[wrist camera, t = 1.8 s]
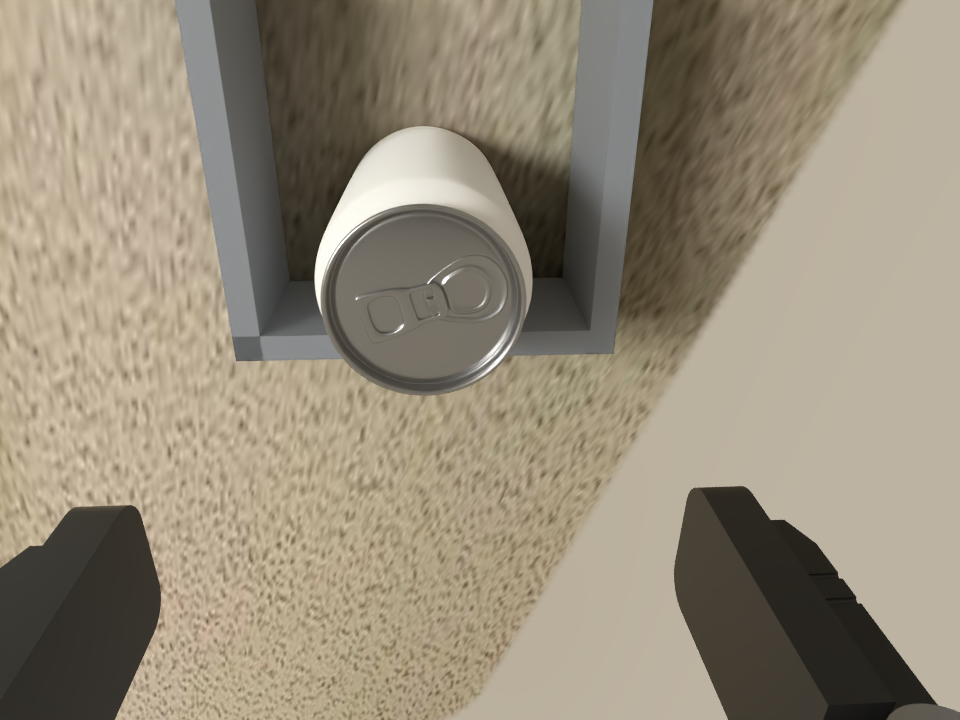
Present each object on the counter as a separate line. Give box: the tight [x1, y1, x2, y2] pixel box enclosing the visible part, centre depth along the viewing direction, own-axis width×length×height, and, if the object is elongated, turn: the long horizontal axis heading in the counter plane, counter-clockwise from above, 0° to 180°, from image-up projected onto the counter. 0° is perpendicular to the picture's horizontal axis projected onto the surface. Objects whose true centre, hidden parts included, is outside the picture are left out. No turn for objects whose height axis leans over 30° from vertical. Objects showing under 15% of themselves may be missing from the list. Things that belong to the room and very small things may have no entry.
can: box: [315, 126, 532, 396], centre depth 24 cm, size 6×6×12 cm
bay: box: [175, 0, 653, 361], centre depth 25 cm, size 14×14×6 cm
